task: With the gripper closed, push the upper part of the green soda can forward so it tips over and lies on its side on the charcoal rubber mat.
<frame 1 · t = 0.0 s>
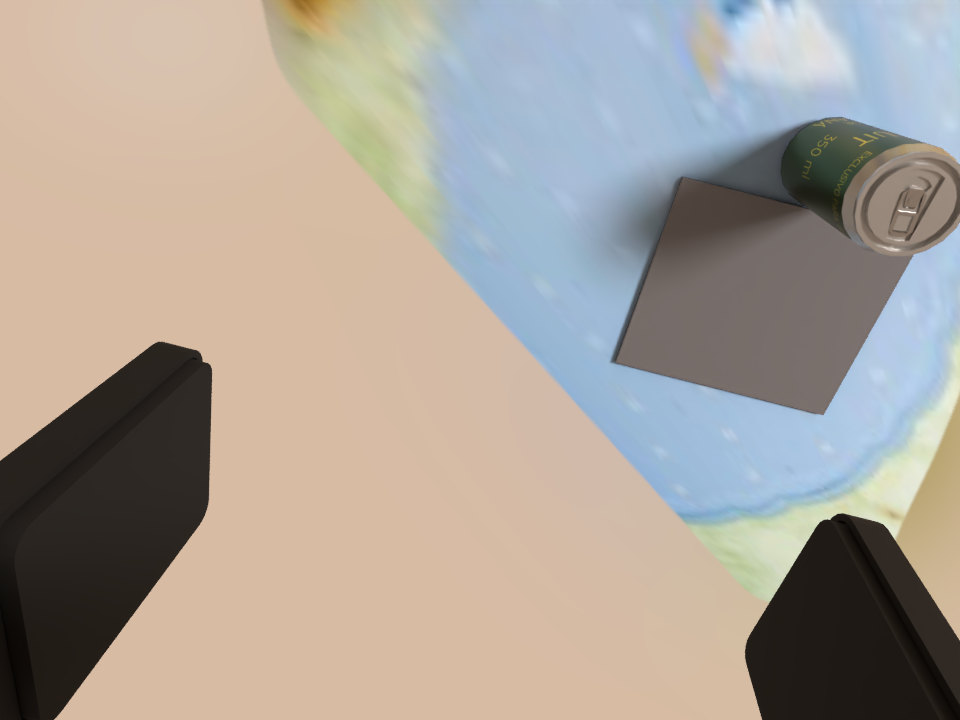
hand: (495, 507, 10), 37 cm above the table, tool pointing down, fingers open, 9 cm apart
green soda can: (820, 159, 41), on the table
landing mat: (756, 302, 46), on the table
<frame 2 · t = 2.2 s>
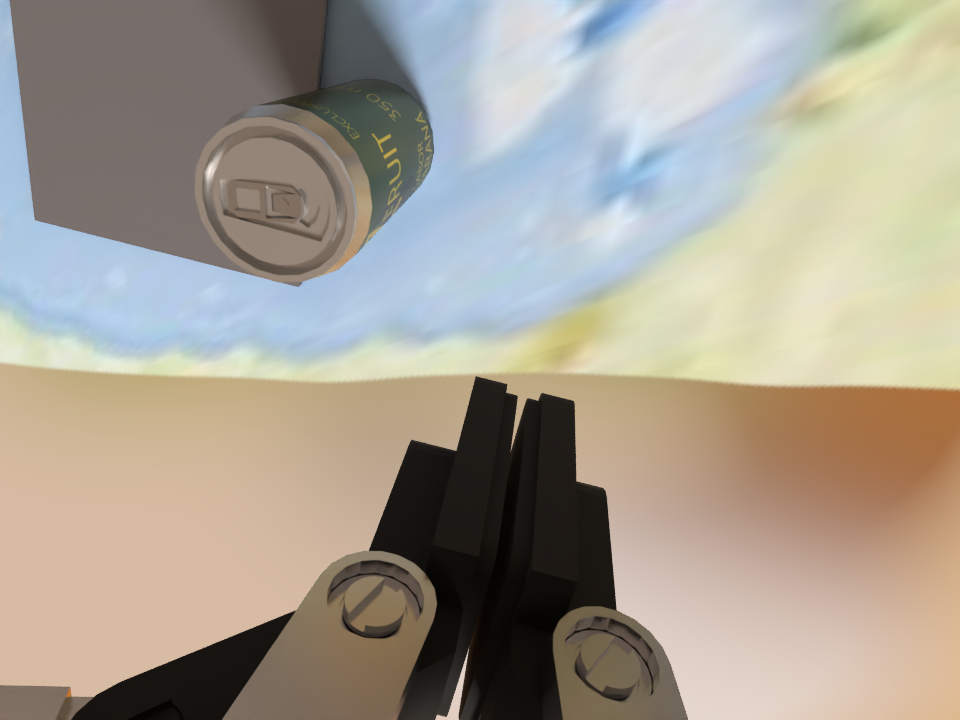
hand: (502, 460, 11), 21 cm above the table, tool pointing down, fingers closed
green soda can: (380, 140, 30), on the table
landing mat: (168, 88, 30), on the table
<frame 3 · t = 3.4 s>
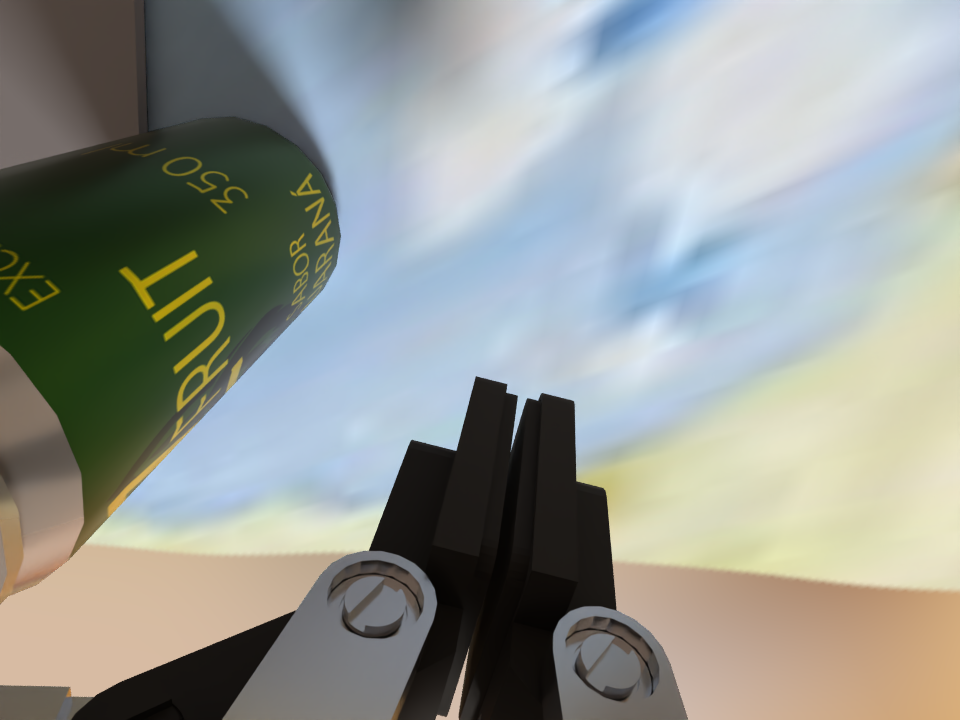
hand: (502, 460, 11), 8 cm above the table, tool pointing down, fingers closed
green soda can: (257, 214, 18), on the table
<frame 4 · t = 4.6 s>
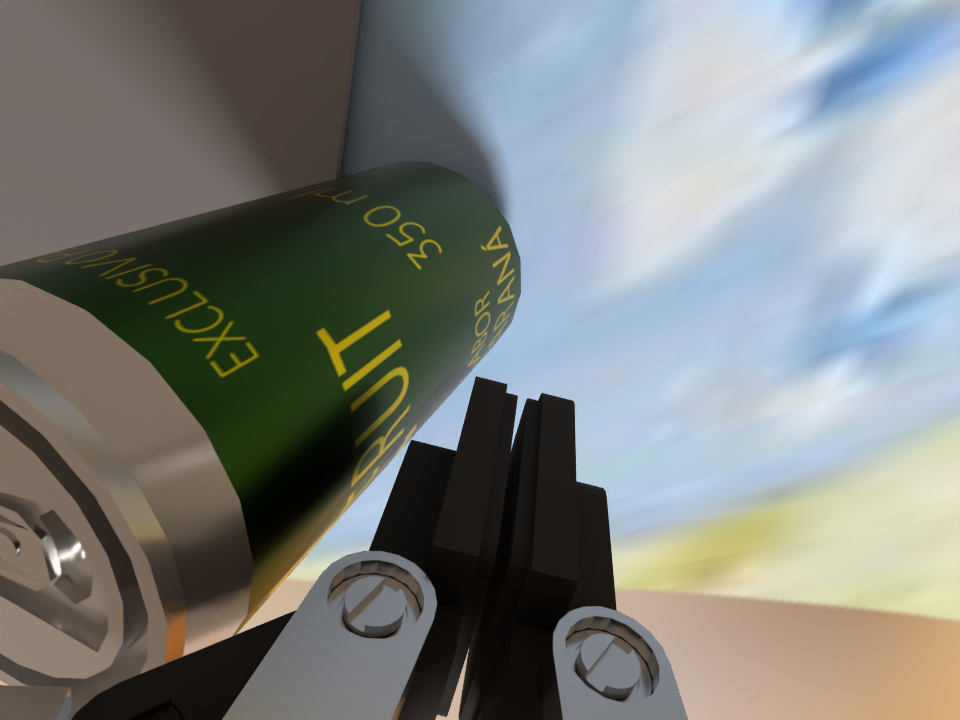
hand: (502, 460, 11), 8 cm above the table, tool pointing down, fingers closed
green soda can: (435, 260, 17), on the table
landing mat: (88, 163, 18), on the table
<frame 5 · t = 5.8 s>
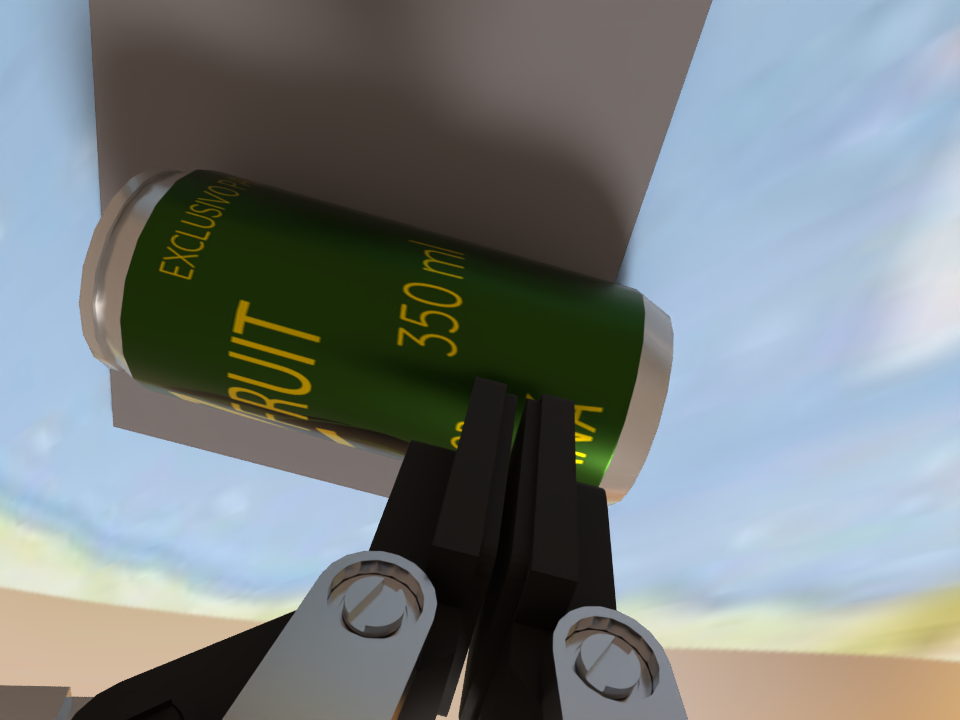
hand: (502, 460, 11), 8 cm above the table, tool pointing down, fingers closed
green soda can: (641, 409, 15), point 3 cm above the table, touching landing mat
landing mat: (355, 246, 18), on the table
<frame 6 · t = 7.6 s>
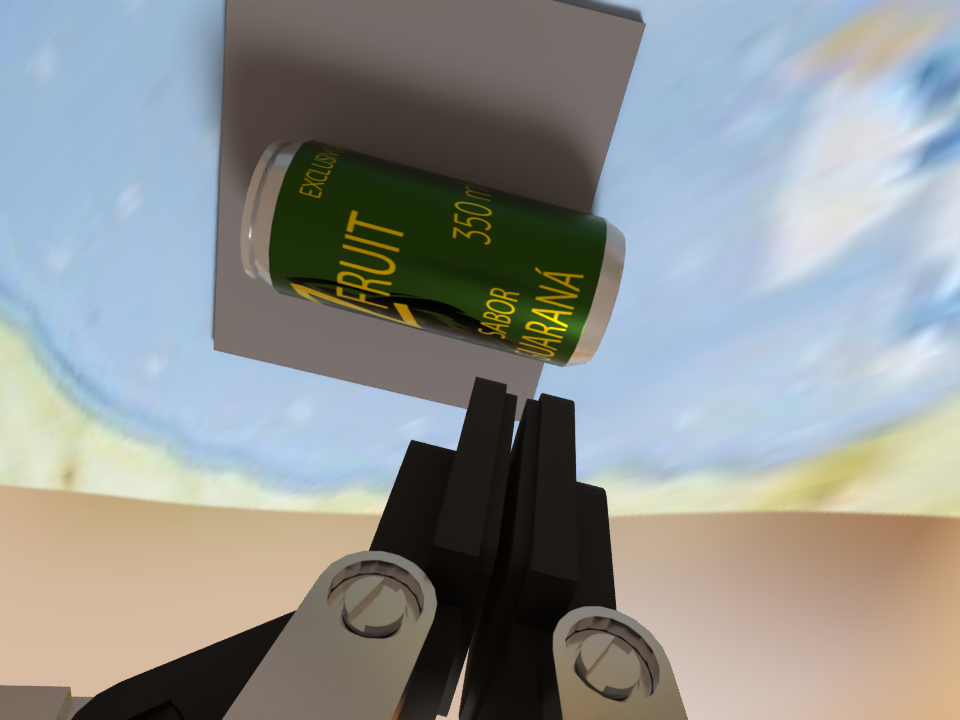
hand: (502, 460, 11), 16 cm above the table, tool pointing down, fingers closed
green soda can: (606, 300, 23), point 3 cm above the table, touching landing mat
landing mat: (402, 206, 25), on the table
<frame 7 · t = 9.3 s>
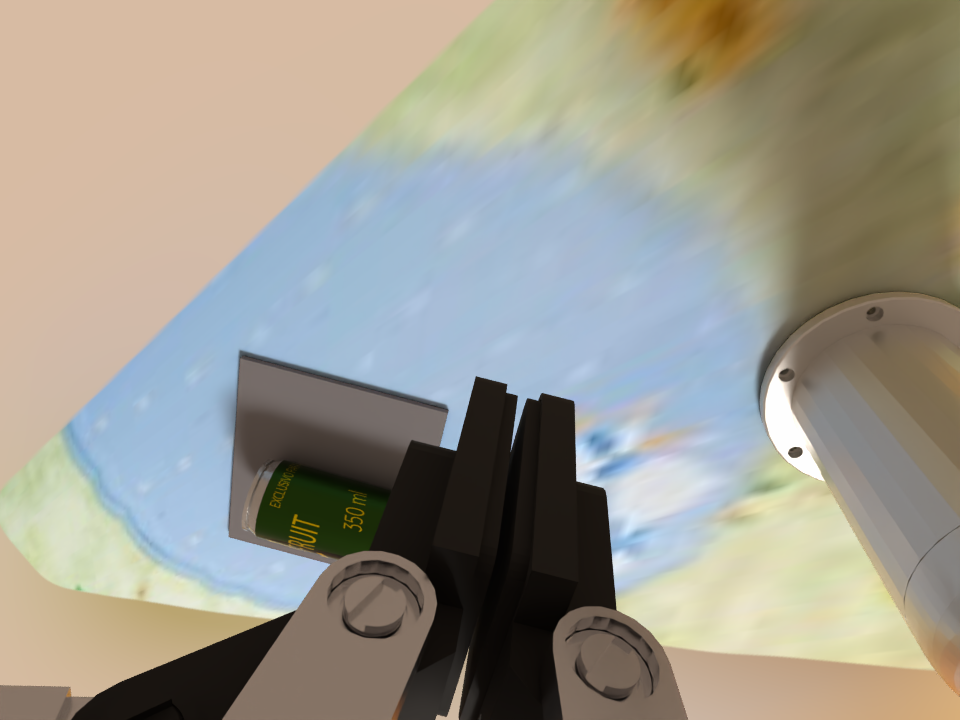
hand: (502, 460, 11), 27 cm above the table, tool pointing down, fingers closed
green soda can: (431, 543, 44), point 3 cm above the table, touching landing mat
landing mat: (331, 476, 46), on the table
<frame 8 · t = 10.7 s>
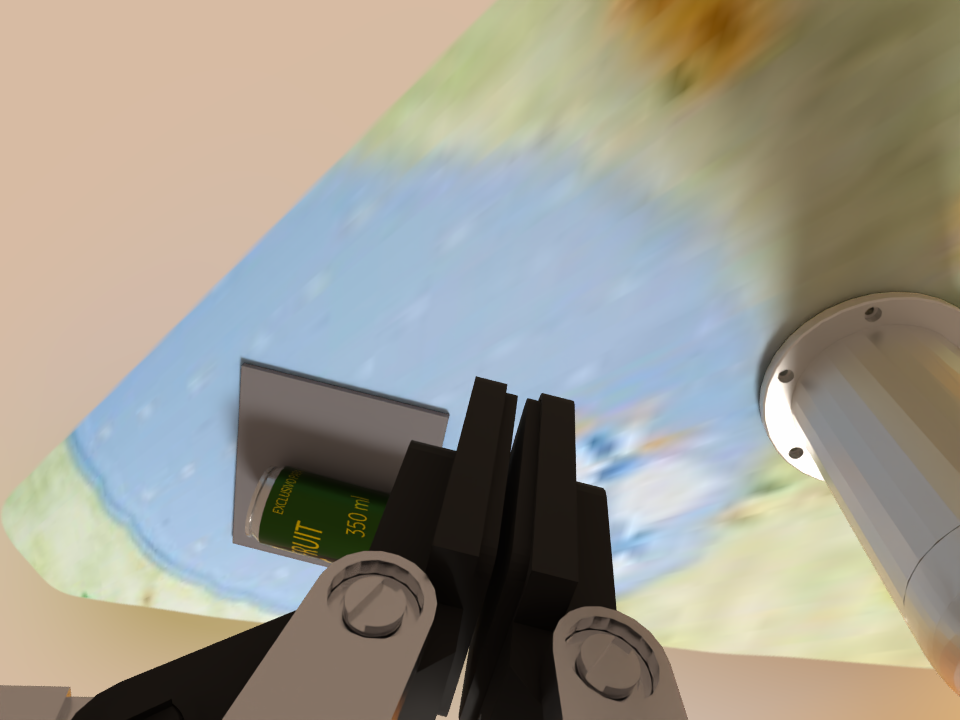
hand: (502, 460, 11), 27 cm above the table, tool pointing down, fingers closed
green soda can: (433, 547, 44), point 3 cm above the table, touching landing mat
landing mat: (333, 482, 47), on the table
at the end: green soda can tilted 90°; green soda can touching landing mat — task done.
